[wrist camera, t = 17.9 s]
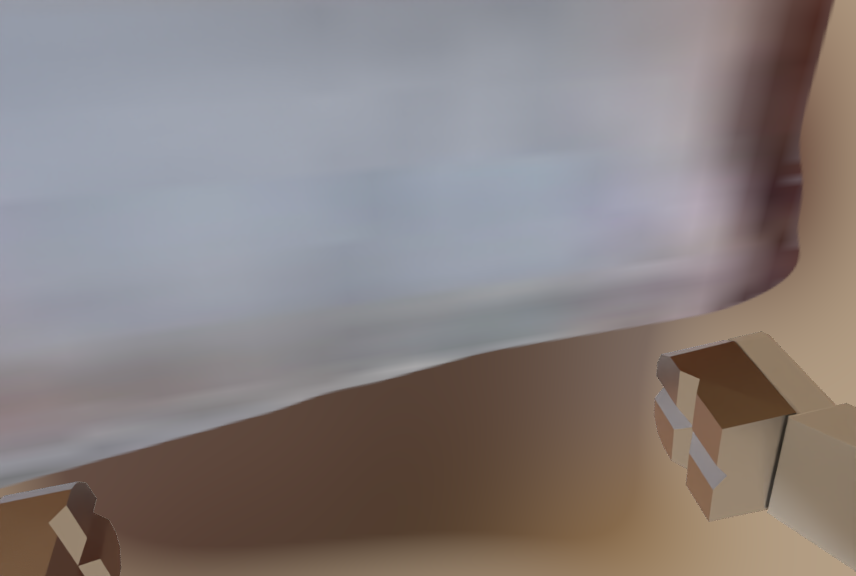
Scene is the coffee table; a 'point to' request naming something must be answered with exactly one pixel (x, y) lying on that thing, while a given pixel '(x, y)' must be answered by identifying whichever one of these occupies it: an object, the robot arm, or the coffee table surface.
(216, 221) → the coffee table surface
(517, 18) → the coffee table surface
